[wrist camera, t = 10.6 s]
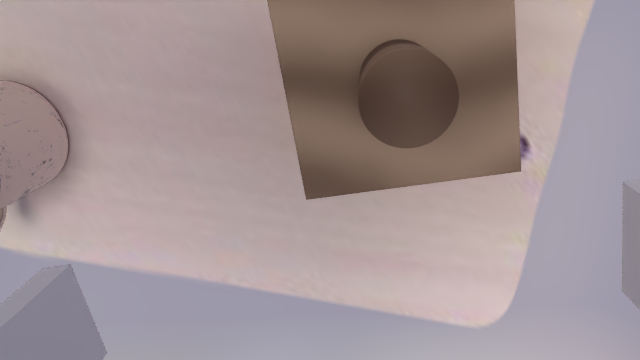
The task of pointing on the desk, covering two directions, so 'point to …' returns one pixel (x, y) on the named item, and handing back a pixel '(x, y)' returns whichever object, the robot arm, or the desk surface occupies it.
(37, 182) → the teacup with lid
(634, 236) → the robot arm
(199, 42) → the desk surface
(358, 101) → the walnut lid
